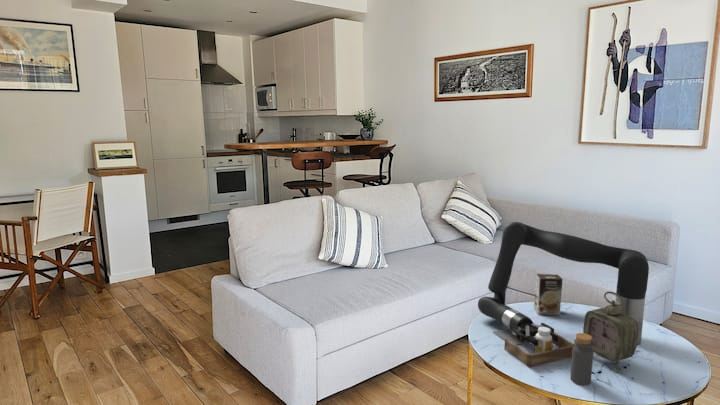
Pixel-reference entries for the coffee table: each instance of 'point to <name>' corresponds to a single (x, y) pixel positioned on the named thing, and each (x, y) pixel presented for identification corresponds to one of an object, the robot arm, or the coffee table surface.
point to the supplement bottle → (543, 340)
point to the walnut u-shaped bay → (541, 357)
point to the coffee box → (548, 294)
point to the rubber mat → (508, 336)
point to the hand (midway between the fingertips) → (547, 341)
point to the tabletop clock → (611, 332)
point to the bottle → (582, 359)
